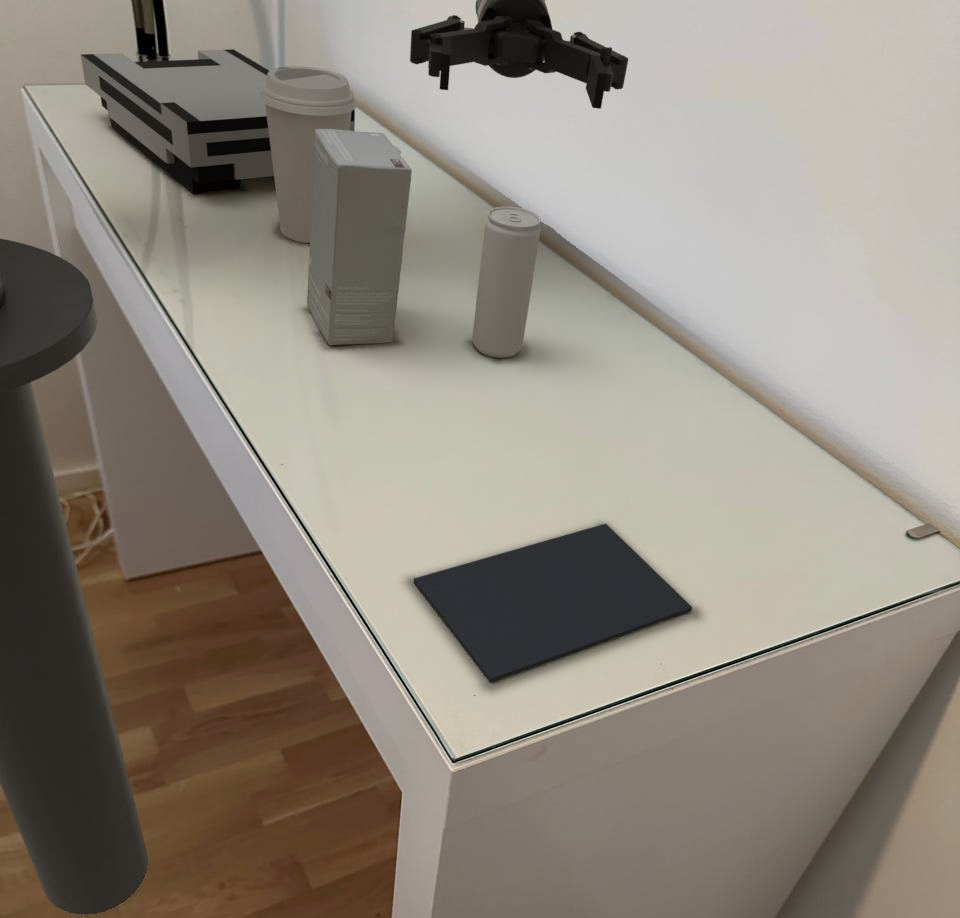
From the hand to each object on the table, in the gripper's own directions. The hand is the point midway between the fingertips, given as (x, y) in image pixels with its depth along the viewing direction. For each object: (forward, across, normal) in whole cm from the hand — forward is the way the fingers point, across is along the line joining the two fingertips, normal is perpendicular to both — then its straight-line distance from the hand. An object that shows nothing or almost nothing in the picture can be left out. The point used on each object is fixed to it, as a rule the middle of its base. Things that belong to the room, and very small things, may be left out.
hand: (522, 81), depth 80 cm
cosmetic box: (+8, +14, -20) cm, 26 cm away
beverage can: (+10, 0, -20) cm, 22 cm away
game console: (-37, +35, -20) cm, 55 cm away
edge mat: (+45, -3, -20) cm, 49 cm away
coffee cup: (-13, +20, -20) cm, 31 cm away
